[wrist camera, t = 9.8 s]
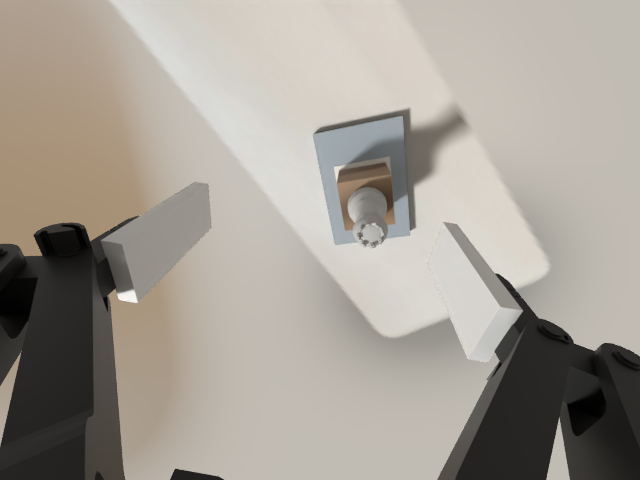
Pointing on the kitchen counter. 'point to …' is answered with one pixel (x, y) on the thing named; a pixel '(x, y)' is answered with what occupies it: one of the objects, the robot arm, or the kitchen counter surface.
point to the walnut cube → (362, 178)
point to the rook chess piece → (368, 216)
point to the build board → (361, 150)
